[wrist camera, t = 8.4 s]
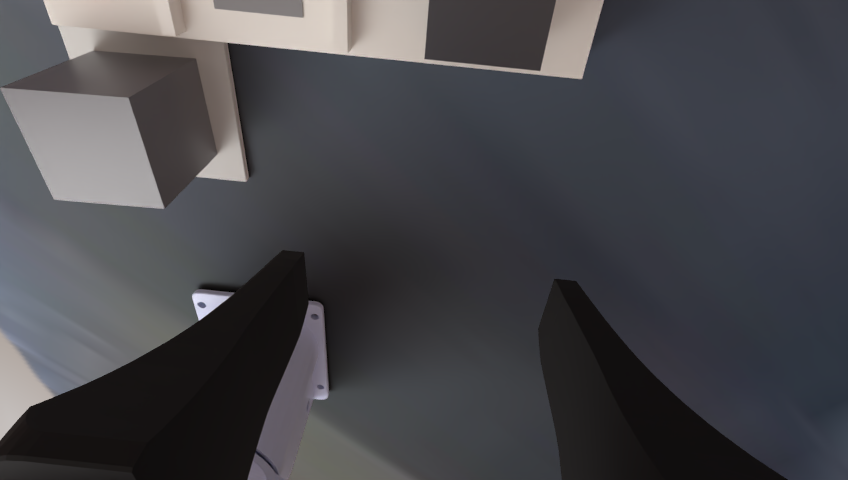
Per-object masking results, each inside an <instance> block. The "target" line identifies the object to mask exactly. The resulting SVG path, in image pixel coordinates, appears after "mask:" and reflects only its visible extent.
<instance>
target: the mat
mask: <svg viewBox="0 0 848 480" xmlns="http://www.w3.org/2000/svg"><path fill="white" fill-rule="evenodd" d="M58 27H59V30H60V33H61V35H62V38H63V41H64V44H65V47H66V49H67V52H68V55H69V58H70V60H71V59H73V58H76V57H78V56H81V55H83V54H86V53H88V52H91V51H105V52H118V53H131V54H144V55H157V56H170V57H183V58H196V61H197V65H198V70H199V74H200V78H201V83H202V87H203V92H204V96H205V101H206V105H207V109H208V114H209V118H210V123H211V127H212V132H213V136H214V140H215V145H216V149H217V155H216V156H215V158H214V159H213V160H212V161H211V162H210V163H209V164H208V165H207V166H206V167H205V168H204V169H203V170H202V171H201V172H200V173H199V174H198V175H197V176H196V177H204V178H214V179H223V180H233V181H242V182H247V180H248V179H249V174H248V168H247V162H246V155H245V149H244V143H243V137H242V130H241V124H240V118H239V112H238V105H237V99H236V93H235V87H234V80H233V74H232V68H231V62H230V55H229V49H228V43H226V42H216V41H206V40H196V39H187V38H177V37H167V36H158V35H148V34H138V33H128V32H119V31H109V30H99V29H90V28H80V27H70V26H60V25H58Z"/></svg>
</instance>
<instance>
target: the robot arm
mask: <svg viewBox="0 0 848 480" xmlns="http://www.w3.org/2000/svg"><path fill="white" fill-rule="evenodd" d="M192 298H193V302H194V305H195V309H196V312H197V316H198V319H199V321H198V322H197V323H195V324H194V325H192V326H191V327H189V328H188V329H186V330H185V331H183V332H182V333H180V334H179V335H177V336H176V337H174V338H172V339H171V340H169V341H168V342H166V343H164V344H162V345H161V346H159V347H157V348H155V349H154V350H152V351H150V352H148V353H146V354H145V355H143V356H141V357H139V358H138V359H136V360H134V361H132V362H130V363H128V364H126V365H124V366H122V367H120V368H118V369H116V370H114V371H112V372H110V373H108V374H106V375H104V376H102V377H100V378H98V379H95V380H93V381H91V382H89V383H87V384H84V385H82V386H80V387H78V388H75V389H73V390H70V391H68V392H65V393H63V394H61V395H58V396H56V397H53V398H51V399H49V400H46V401H44V402H41V403H39V404H36V405H33V406H31V407H29V409H28V410H27V411H26V412H25V413H24V414H23V415H22V416H21V417H20V418H19V419H18V420H17V422H16V423H15V424H14V425H13V426H12V428H11V429H10V430H9V431H8V432H7V433H6V434H5V436H4V437H3V438H2V439H1V440H0V480H288V478H289V476H290V474H291V471H292V469H293V465H294V462H295V459H296V455H297V452H298V449H299V445H300V442H301V439H302V435H303V432H304V429H305V425H306V422H307V418H308V415H309V412H310V408H311V405H312V402H313V399H326V398H328V394H329V383H328V368H327V352H326V337H325V321H324V308H323V305H322V304H321V303H319V302H316V301H308V291H307V280H306V269H305V258H304V252H294V251H285V250H283V251H281V252H280V253H279V254H278V255H277V256H276V257H275V258H273V259H272V260H271V261H270V262H269V263H268V264H267V265H266V266H265V267H264V268H263V269H261V270H260V271H259V272H258V273H257V274H256V275H255V276H254V277H253V278H251V279H250V280H249V281H248V282H247V283H246V284H245V285H243V286H242V287H241V288H240V289H239V290H238V291H236V292H235V293H233V292H223V291H214V290H205V289H197V290H196V291H195V292H194V294H193V295H192ZM314 314H317V315H314ZM538 332H539V347H540V358H541V365H542V370H543V375H544V379H545V384H546V389H547V394H548V398H549V403H550V407H551V412H552V417H553V421H554V426H555V431H556V436H557V442H558V448H559V457H560V466H561V475H562V480H787V479H786V478H784V477H783V476H781V475H780V474H778V473H777V472H775V471H774V470H772V469H771V468H769V467H768V466H766V465H764V464H763V463H761V462H760V461H758V460H757V459H755V458H754V457H753V456H751V455H750V454H748V453H747V452H746V451H744V450H743V449H741V448H740V447H739V446H737V445H736V444H735V443H733V442H732V441H730V440H729V439H728V438H726V437H725V436H724V435H722V434H721V433H720V432H719V431H717V430H716V429H715V428H713V427H712V426H711V425H710V424H708V423H707V422H706V421H705V420H703V419H702V418H701V417H700V416H699V415H697V414H696V413H695V412H694V411H693V410H691V409H690V408H689V407H688V406H687V405H686V404H684V403H683V402H682V401H681V400H680V399H679V398H678V397H677V396H675V395H674V394H673V393H672V392H671V391H670V390H669V389H668V388H667V387H666V386H665V385H664V384H663V383H662V382H661V381H660V380H659V379H658V378H656V377H655V376H654V375H653V374H652V373H651V372H650V371H649V370H648V368H647V367H646V366H645V365H644V364H643V363H642V362H641V361H640V360H639V359H638V358H637V357H636V356H635V354H634V353H633V352H632V351H631V350H630V349H629V348H628V347H627V345H626V344H625V343H624V342H623V341H622V340H621V338H620V337H619V336H618V335H617V334H616V332H615V331H614V330H613V329H612V328H611V326H610V325H609V324H608V323H607V321H606V320H605V319H604V317H603V316H602V315H601V314H600V312H599V311H598V310H597V308H596V307H595V306H594V304H593V303H592V302H591V300H590V299H589V298H588V296H587V295H586V294H585V292H584V291H583V290H582V288H581V287H580V286H579V284H578V283H577V282H576V281H570V280H560V279H554V282H553V285H552V288H551V291H550V294H549V298H548V301H547V304H546V307H545V310H544V313H543V316H542V319H541V322H540V325H539V328H538Z"/></svg>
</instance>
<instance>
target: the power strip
mask: <svg viewBox="0 0 848 480" xmlns="http://www.w3.org/2000/svg"><path fill="white" fill-rule="evenodd" d="M43 1H44V3H45V6H46V9H47V12H48V14H49V17H50V20H51V23H52V25H60V26H70V27H80V28H90V29H99V30H109V31H119V32H128V33H138V34H148V35H158V36H167V37H177V38H187V39H196V40H206V41H216V42H226V43H235V44H245V45H255V46H264V47H274V48H284V49H293V50H303V51H313V52H323V53H332V54H342V55H352V56H361V57H371V58H381V59H391V60H400V61H410V62H420V63H429V64H439V65H449V66H458V67H468V68H478V69H488V70H497V71H507V72H517V73H526V74H536V75H546V76H556V77H565V78H575V79H582V77H583V73H584V70H585V66H586V63H587V59H588V55H589V52H590V48H591V45H592V41H593V38H594V34H595V30H596V27H597V23H598V20H599V16H600V13H601V9H602V5H603V2H604V0H43Z"/></svg>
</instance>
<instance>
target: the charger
mask: <svg viewBox="0 0 848 480" xmlns="http://www.w3.org/2000/svg"><path fill="white" fill-rule="evenodd" d="M0 89H1V91H2V93H3V95H4V97H5V99H6V101H7V103H8V105H9V107H10V109H11V112H12V114H13V116H14V118H15V120H16V122H17V124H18V126H19V128H20V130H21V132H22V134H23V136H24V138H25V141H26V143H27V145H28V147H29V149H30V151H31V153H32V155H33V157H34V159H35V161H36V163H37V165H38V167H39V169H40V172H41V174H42V176H43V178H44V180H45V182H46V184H47V186H48V188H49V190H50V192H51V194H52V196H53V198H54V200H64V201H76V202H88V203H100V204H112V205H124V206H136V207H148V208H160V209H165V208H166V207H167V206H168V205H169V204H170V203H171V202H172V201H173V200H174V199H175V198H176V196H177V195H178V194H179V193H180V192H181V191H182V190H183V189H184V188H185V187H186V186H187V185H188V184H189V183H190V182H191V181H192V180H193V179H194V178H195V177H196V176H197V175H198V174H199V173H200V172H201V171H202V170H203V169H204V168H205V167H206V166H207V165H208V164H209V163H210V162H211V161H212V160H213V159H214V158H215V156H216V155H217V149H216V145H215V140H214V136H213V132H212V127H211V123H210V118H209V114H208V109H207V105H206V101H205V96H204V92H203V87H202V83H201V78H200V74H199V70H198V65H197V61H196V58H183V57H170V56H157V55H144V54H131V53H118V52H105V51H91V52H88V53H86V54H83V55H81V56H78V57H76V58H73V59H71V60H68V61H66V62H63V63H61V64H58V65H56V66H53V67H51V68H48V69H46V70H43V71H41V72H38V73H36V74H33V75H30V76H28V77H25V78H23V79H20V80H18V81H15V82H13V83H10V84H8V85H5V86H3V87H0Z"/></svg>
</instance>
